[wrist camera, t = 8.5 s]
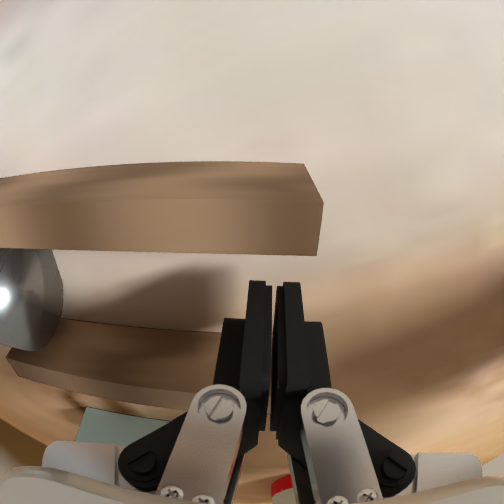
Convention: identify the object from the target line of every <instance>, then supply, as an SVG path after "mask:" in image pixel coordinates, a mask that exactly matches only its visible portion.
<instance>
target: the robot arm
mask: <svg viewBox="0 0 504 504" xmlns="http://www.w3.org/2000/svg"><path fill="white" fill-rule="evenodd" d="M271 343H272V358H271ZM270 383H271V411H270V431H276V439H277V440H278V445H279V446H280V447H281V448H282V449H284V450H285V451H286V452H287V457H288V462H289V468H290V473H291V479H292V484H293V490H294V495H295V501H296V504H504V477H499V476H486V477H482V466H481V462H480V460H479V459H478V457H477V456H475V455H474V454H472V453H418V454H417V455H409V454H408V453H407V452H406V451H405V450H403V449H402V448H400V447H398V446H397V445H395V444H394V443H392V442H391V441H389V440H388V439H386V438H385V437H383V436H382V435H380V434H379V433H377V432H376V431H374V430H373V429H372V428H370V427H369V426H367V425H366V424H364V423H363V422H361V421H360V420H359V419H358V418H357V415H356V412H355V410H354V407H353V404H352V402H351V400H350V399H349V398H348V397H347V396H346V395H345V394H344V393H342V392H340V391H339V390H336V389H332V388H331V381H330V374H329V366H328V359H327V353H326V346H325V339H324V333H323V327H322V323H321V322H304V313H303V304H302V294H301V286H300V283H299V282H283V286H277V291H276V303H275V314H274V325H273V336H272V286H267V285H266V281H252V280H250V281H249V290H248V300H247V310H246V319H233V318H224V322H223V327H222V333H221V339H220V344H219V350H218V356H217V362H216V368H215V374H214V380H213V385H211V386H208V387H205V388H203V389H202V390H200V391H199V392H198V393H197V394H196V395H195V397H194V399H193V400H192V403H191V405H190V408H189V410H188V412H186V413H184V414H183V415H181V416H179V417H178V418H176V419H174V420H172V421H171V422H169V423H167V424H165V425H164V426H162V427H160V428H158V429H157V430H155V431H153V432H151V433H149V434H148V435H146V436H144V437H142V438H140V439H138V440H136V441H135V442H133V443H131V444H129V445H128V446H116V444H103V443H86V442H74V441H64V440H60V441H54V442H52V443H50V444H49V445H48V446H47V448H46V449H45V452H44V455H43V462H42V467H38V466H23V467H16V468H13V469H10V470H8V471H6V472H5V473H4V474H3V475H2V476H1V477H0V504H233V500H234V497H235V493H236V489H237V486H238V482H239V478H240V475H241V471H242V467H243V463H244V459H245V455H246V453H247V452H248V451H249V450H251V449H252V448H253V447H255V446H256V445H257V444H258V433H259V431H265V425H266V417H267V409H268V401H269V392H270Z"/></svg>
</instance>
